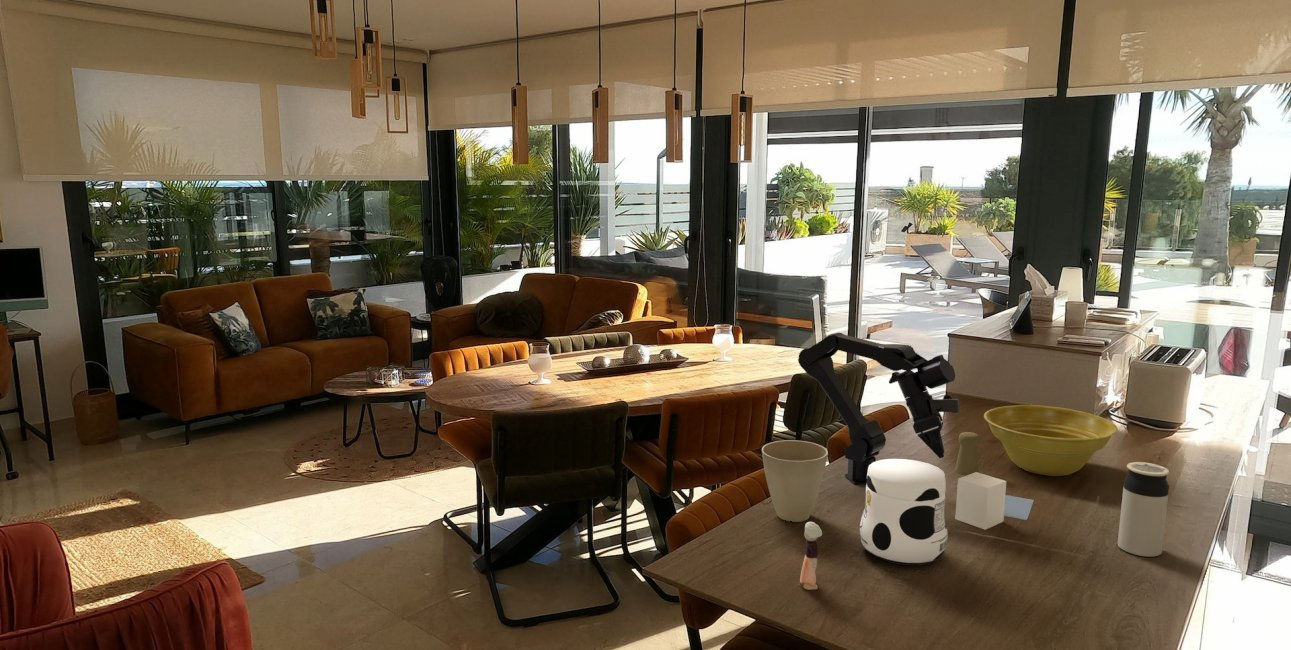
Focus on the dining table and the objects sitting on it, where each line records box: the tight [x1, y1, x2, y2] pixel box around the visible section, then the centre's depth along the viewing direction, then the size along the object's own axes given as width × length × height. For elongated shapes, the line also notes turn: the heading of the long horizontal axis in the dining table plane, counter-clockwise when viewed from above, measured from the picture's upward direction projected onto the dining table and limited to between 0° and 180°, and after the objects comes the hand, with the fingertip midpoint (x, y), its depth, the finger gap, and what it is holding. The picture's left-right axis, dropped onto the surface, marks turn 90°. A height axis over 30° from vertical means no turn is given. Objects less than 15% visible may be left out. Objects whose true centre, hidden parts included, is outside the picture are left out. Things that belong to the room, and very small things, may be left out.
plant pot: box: [761, 439, 829, 523], centre depth 188 cm, size 15×15×16 cm
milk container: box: [859, 458, 948, 566], centre depth 169 cm, size 17×17×18 cm
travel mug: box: [1117, 461, 1170, 558], centre depth 170 cm, size 8×8×18 cm
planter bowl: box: [983, 404, 1119, 477], centre depth 220 cm, size 32×32×13 cm
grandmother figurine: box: [799, 521, 823, 591], centre depth 155 cm, size 8×4×13 cm, turn 5°
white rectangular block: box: [954, 472, 1007, 531], centre depth 185 cm, size 7×7×10 cm
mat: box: [1004, 494, 1035, 521], centre depth 195 cm, size 14×14×1 cm
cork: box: [954, 431, 980, 476], centre depth 217 cm, size 6×6×11 cm
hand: (942, 455), depth 196 cm, fingers open, 9 cm apart
